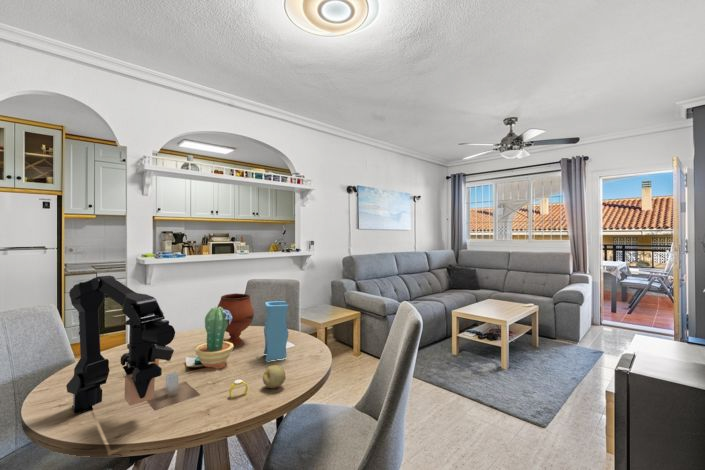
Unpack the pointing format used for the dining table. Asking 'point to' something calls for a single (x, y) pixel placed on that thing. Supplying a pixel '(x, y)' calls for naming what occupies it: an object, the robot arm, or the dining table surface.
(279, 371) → the fruit
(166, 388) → the post
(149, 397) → the salmon pink rectangular prism
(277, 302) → the vase
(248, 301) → the brown clay urn
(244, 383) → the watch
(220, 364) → the potted cactus
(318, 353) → the dining table surface
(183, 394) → the board
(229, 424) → the dining table surface
